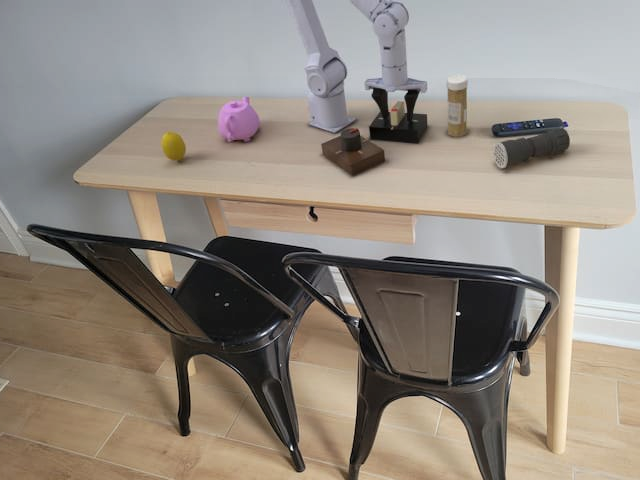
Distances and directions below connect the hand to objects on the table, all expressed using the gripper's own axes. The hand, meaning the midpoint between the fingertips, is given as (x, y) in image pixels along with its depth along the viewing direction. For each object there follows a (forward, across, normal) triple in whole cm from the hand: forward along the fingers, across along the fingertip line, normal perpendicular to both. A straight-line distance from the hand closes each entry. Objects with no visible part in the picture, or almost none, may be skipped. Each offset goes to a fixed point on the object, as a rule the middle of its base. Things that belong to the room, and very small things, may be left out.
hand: (397, 118), depth 137 cm
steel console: (+4, 0, 0) cm, 4 cm away
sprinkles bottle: (+4, +14, +2) cm, 15 cm away
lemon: (+4, -51, -22) cm, 55 cm away
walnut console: (+4, -7, -13) cm, 15 cm away
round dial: (+1, -7, -13) cm, 15 cm away
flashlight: (+4, +32, -6) cm, 33 cm away
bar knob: (0, 0, 0) cm, 0 cm away
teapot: (+4, -41, -6) cm, 41 cm away
